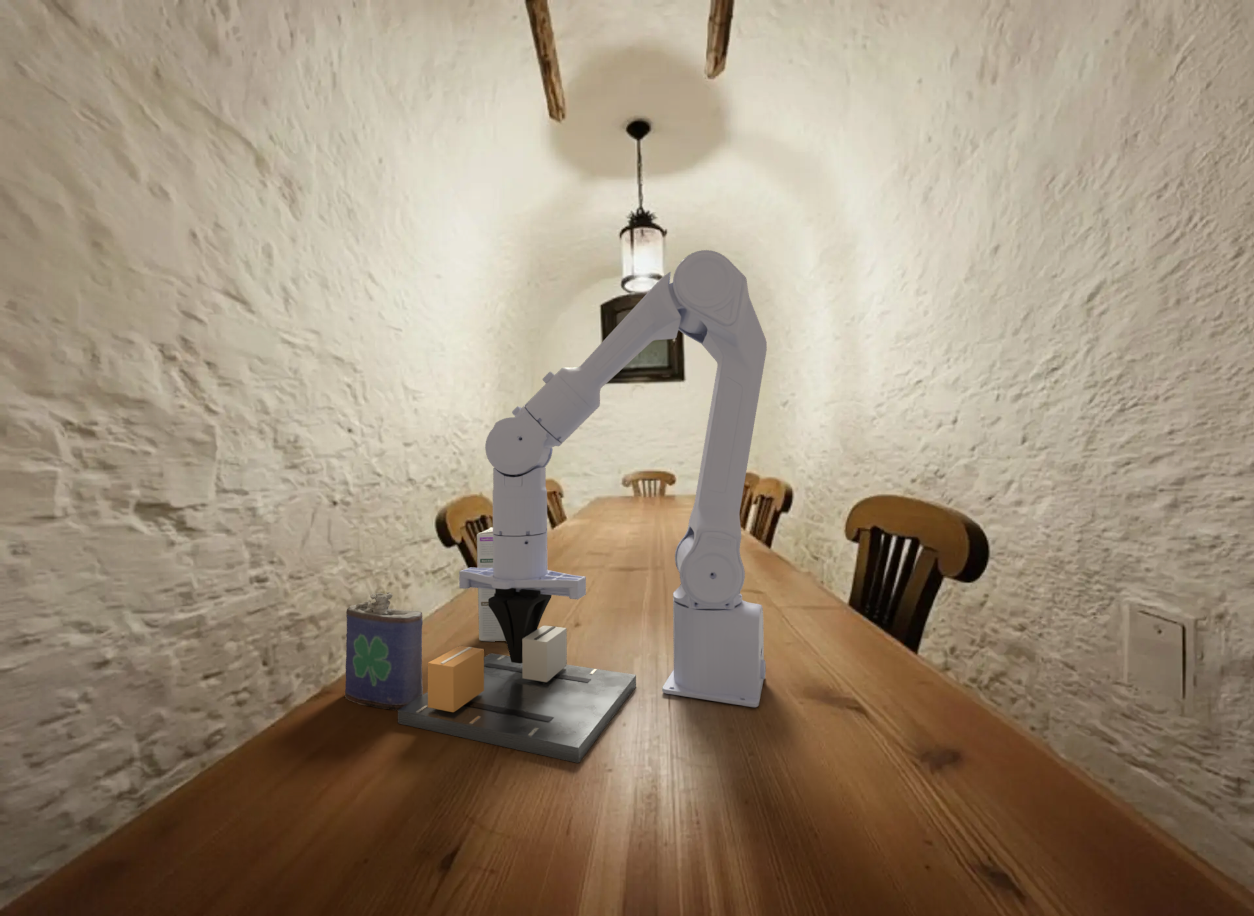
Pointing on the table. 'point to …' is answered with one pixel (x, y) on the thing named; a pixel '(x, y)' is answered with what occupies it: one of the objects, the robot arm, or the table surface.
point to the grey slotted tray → (531, 709)
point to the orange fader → (455, 678)
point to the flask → (383, 654)
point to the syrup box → (487, 591)
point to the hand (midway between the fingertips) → (521, 659)
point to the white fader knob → (544, 653)
